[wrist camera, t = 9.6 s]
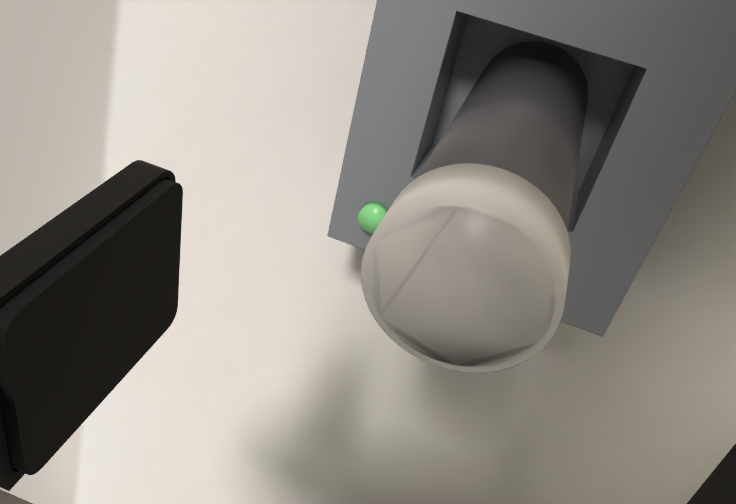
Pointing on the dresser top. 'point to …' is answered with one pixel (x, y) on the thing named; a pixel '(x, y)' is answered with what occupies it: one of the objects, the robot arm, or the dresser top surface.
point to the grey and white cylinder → (486, 221)
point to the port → (601, 126)
